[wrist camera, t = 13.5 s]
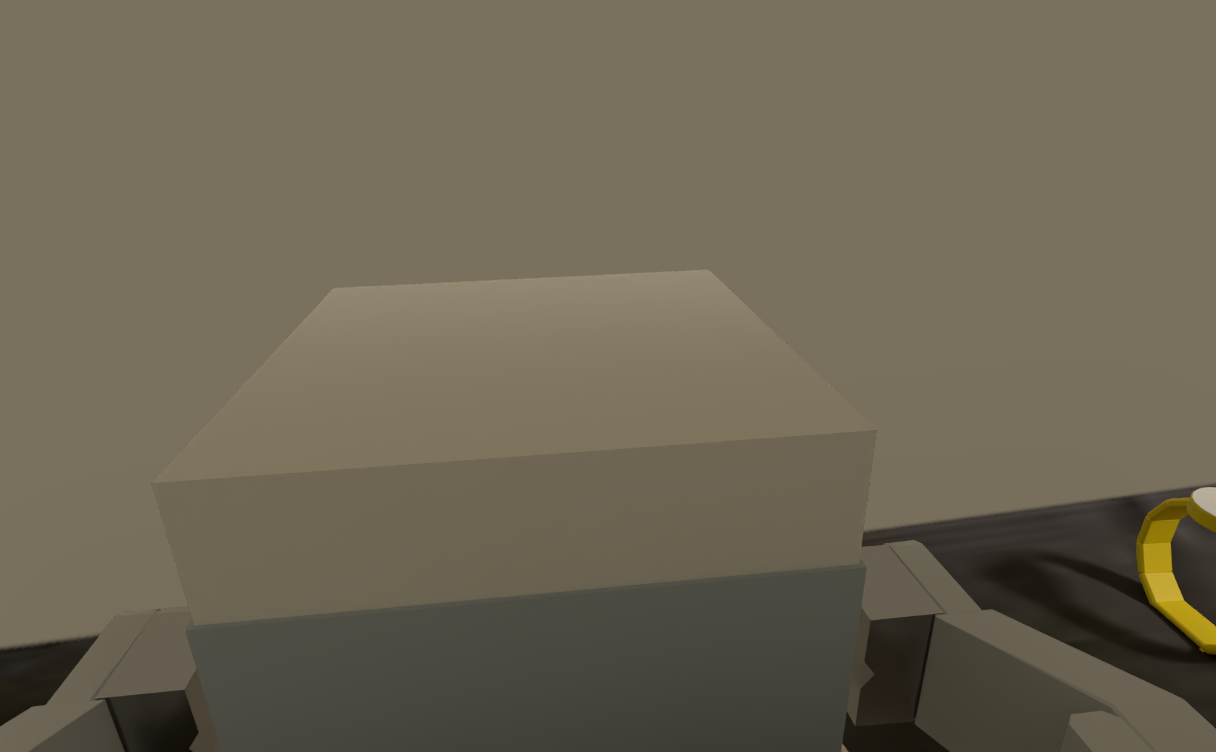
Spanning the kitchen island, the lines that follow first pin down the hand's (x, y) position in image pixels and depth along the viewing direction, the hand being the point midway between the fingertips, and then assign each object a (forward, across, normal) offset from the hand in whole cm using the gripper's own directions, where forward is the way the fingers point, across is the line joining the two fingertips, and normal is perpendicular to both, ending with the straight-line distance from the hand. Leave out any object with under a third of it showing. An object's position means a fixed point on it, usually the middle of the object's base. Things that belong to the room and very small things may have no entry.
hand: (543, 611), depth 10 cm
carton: (-1, 0, +9) cm, 9 cm away
